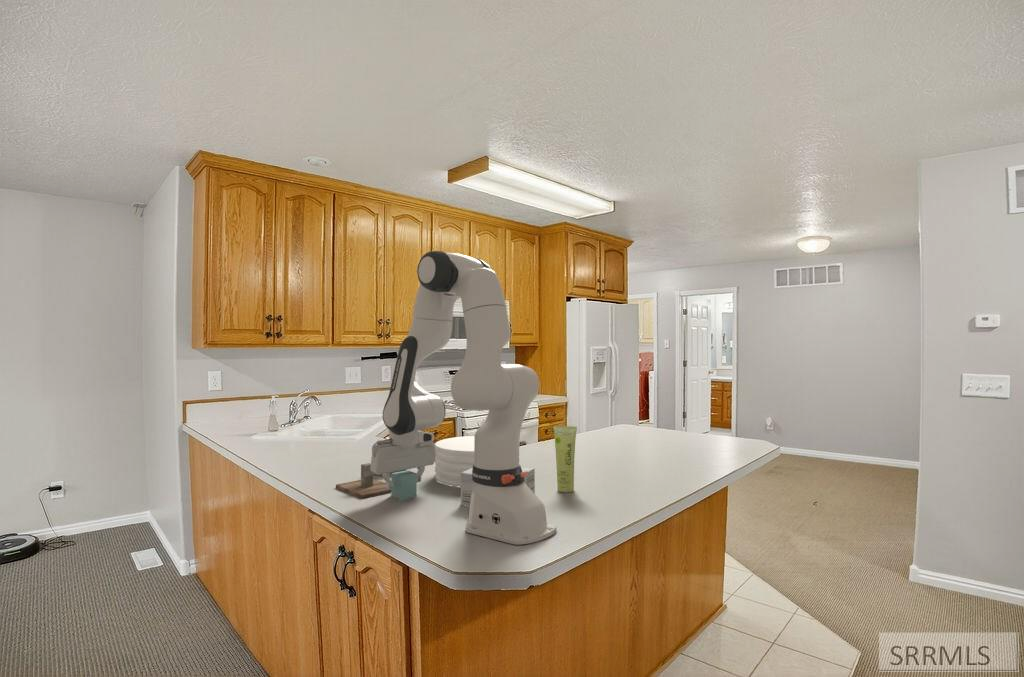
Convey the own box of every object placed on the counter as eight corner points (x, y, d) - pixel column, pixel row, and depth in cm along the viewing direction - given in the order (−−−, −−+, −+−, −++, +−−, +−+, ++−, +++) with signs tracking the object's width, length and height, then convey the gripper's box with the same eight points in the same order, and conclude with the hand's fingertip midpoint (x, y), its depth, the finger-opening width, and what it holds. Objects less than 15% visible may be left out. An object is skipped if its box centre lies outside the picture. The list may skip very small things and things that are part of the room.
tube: (559, 493, 154) (559, 427, 155) (552, 489, 159) (552, 425, 159) (576, 492, 156) (576, 426, 156) (570, 487, 161) (570, 424, 161)
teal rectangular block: (416, 496, 151) (416, 473, 151) (401, 499, 148) (401, 476, 148) (406, 492, 155) (406, 470, 155) (391, 495, 151) (391, 473, 151)
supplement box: (535, 501, 147) (535, 467, 147) (515, 514, 135) (516, 478, 136) (483, 493, 155) (483, 462, 155) (459, 506, 143) (460, 471, 143)
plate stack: (420, 484, 165) (420, 448, 165) (455, 465, 192) (455, 434, 192) (504, 492, 157) (504, 453, 157) (528, 470, 183) (528, 438, 184)
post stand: (398, 490, 157) (398, 465, 157) (362, 498, 148) (362, 472, 149) (371, 480, 168) (371, 457, 168) (335, 487, 160) (336, 463, 160)
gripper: (378, 443, 142) (377, 493, 142) (438, 434, 157) (438, 480, 156) (366, 440, 147) (366, 489, 146) (426, 431, 161) (426, 476, 161)
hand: (403, 484), depth 151 cm, fingers open, 8 cm apart
